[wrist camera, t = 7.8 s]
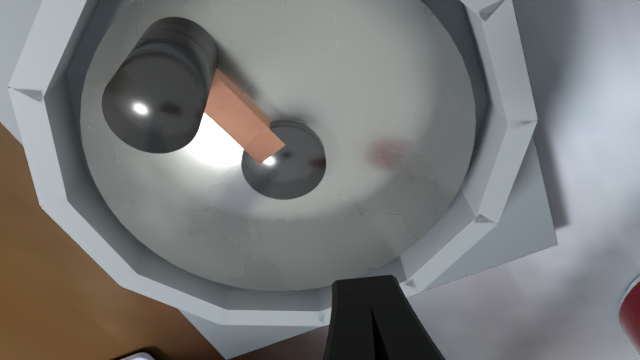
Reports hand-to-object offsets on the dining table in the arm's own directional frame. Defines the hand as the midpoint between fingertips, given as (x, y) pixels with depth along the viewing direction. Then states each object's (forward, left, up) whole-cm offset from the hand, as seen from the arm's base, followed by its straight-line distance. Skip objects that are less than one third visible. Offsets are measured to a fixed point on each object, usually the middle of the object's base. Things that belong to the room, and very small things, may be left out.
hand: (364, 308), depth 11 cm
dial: (-2, 0, -9) cm, 9 cm away
